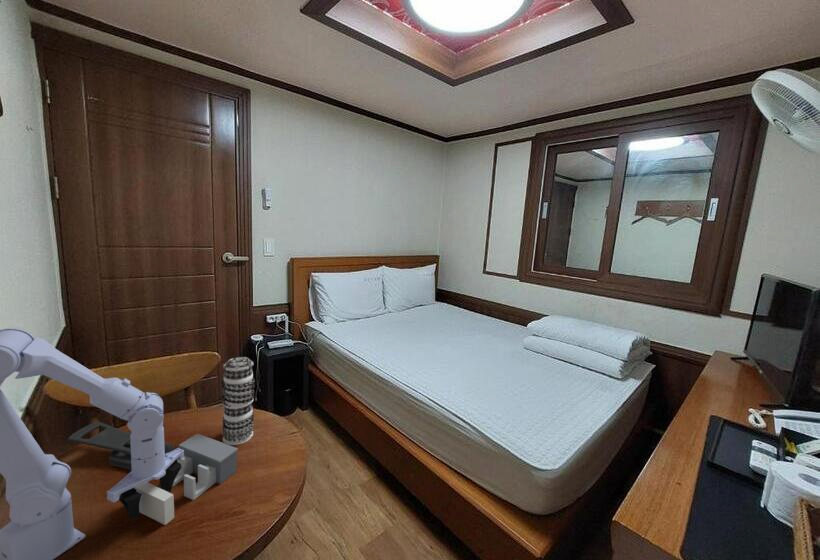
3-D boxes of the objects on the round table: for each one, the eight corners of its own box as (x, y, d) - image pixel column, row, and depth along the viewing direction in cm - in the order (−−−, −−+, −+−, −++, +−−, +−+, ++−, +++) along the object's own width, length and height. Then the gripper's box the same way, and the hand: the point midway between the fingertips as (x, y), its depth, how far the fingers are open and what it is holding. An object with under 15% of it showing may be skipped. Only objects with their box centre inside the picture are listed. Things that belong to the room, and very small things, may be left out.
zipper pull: (97, 419, 94) (179, 430, 92) (99, 440, 95) (180, 451, 93) (62, 438, 85) (152, 451, 83) (64, 461, 86) (153, 475, 84)
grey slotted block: (198, 502, 77) (198, 477, 76) (155, 483, 82) (154, 459, 81) (237, 470, 88) (237, 448, 87) (197, 454, 92) (197, 433, 91)
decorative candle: (213, 443, 97) (213, 364, 93) (234, 425, 106) (234, 352, 103) (242, 448, 96) (243, 368, 92) (260, 429, 105) (261, 356, 101)
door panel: (174, 518, 73) (173, 494, 72) (165, 525, 71) (164, 501, 70) (137, 499, 77) (136, 477, 76) (127, 506, 75) (126, 483, 74)
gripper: (122, 479, 63) (125, 539, 66) (193, 437, 77) (193, 488, 79) (98, 468, 66) (102, 527, 68) (171, 428, 79) (172, 478, 81)
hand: (150, 505), depth 74 cm, fingers open, 6 cm apart
